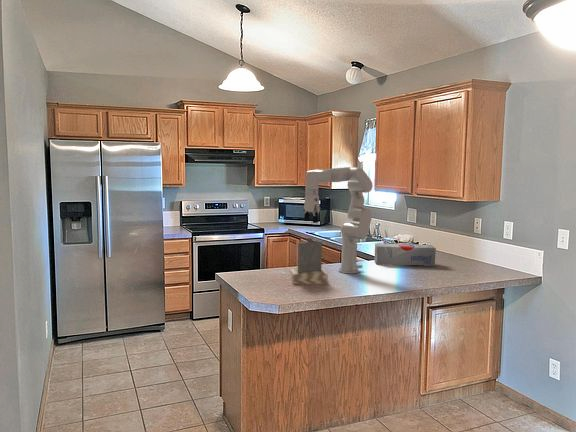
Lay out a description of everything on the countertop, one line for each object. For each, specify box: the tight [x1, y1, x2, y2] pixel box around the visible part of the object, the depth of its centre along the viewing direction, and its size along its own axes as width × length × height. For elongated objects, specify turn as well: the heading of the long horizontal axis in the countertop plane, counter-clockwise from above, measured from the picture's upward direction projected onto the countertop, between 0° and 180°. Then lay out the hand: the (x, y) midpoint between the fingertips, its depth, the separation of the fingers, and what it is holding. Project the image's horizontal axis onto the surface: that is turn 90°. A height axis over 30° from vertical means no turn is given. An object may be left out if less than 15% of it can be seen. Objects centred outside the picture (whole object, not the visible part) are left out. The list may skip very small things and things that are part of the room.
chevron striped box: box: [290, 268, 329, 285], centre depth 278 cm, size 20×14×6 cm
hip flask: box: [297, 236, 323, 273], centre depth 277 cm, size 16×4×20 cm, turn 120°
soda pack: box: [373, 242, 437, 267], centre depth 333 cm, size 41×13×14 cm, turn 87°
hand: (311, 221), depth 275 cm, fingers open, 9 cm apart
